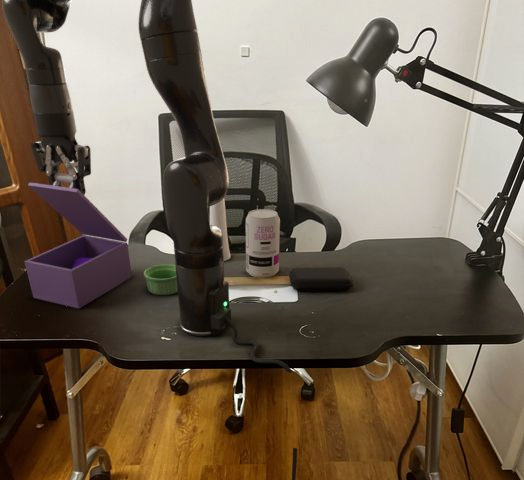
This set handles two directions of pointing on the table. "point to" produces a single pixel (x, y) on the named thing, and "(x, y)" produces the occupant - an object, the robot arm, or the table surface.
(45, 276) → the file box
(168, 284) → the ramekin
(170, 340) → the table surface
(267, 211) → the supplement can
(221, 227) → the cosmetic bottle
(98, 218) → the lid
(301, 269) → the carrying case
